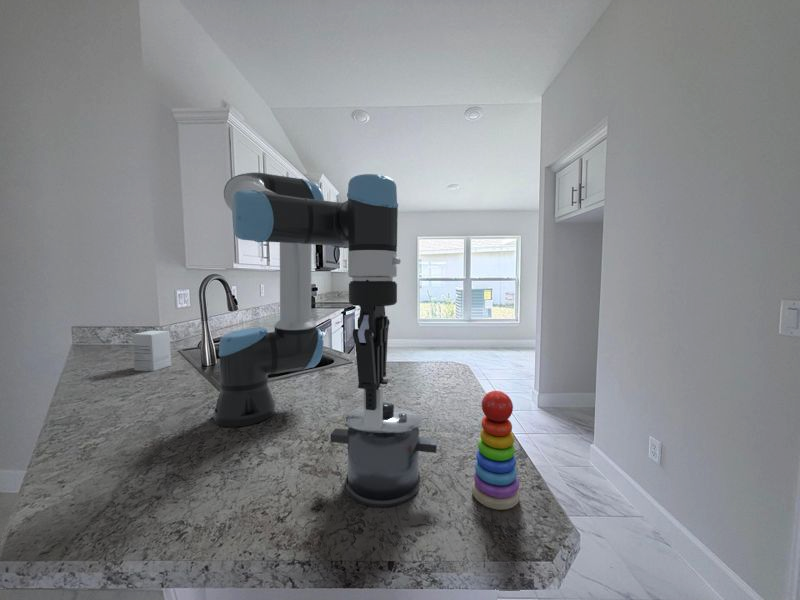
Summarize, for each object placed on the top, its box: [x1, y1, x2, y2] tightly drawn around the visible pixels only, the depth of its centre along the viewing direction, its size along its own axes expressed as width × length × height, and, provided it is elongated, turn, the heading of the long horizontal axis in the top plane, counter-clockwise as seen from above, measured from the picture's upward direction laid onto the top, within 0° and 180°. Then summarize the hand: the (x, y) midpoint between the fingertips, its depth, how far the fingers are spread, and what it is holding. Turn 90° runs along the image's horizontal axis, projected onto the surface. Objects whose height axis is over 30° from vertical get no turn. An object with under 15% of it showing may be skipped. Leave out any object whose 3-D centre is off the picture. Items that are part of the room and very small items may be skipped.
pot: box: [330, 426, 438, 509], centre depth 60 cm, size 20×14×10 cm
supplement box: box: [131, 330, 172, 372], centre depth 134 cm, size 9×9×15 cm
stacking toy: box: [471, 390, 521, 511], centre depth 56 cm, size 8×8×19 cm
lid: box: [344, 402, 423, 433], centre depth 60 cm, size 14×15×4 cm
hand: (373, 425), depth 52 cm, fingers closed
